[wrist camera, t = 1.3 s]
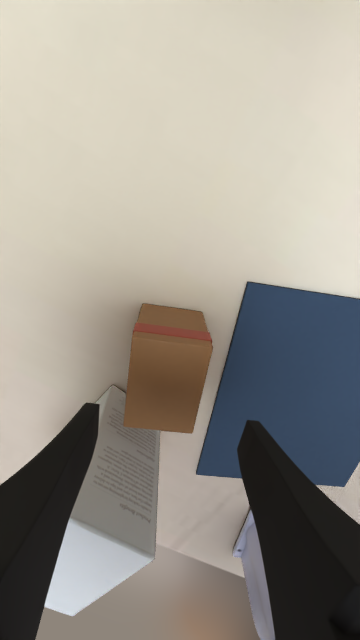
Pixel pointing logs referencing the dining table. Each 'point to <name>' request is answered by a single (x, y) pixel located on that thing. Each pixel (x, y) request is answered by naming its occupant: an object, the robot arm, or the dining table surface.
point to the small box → (109, 512)
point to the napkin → (291, 383)
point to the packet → (167, 369)
